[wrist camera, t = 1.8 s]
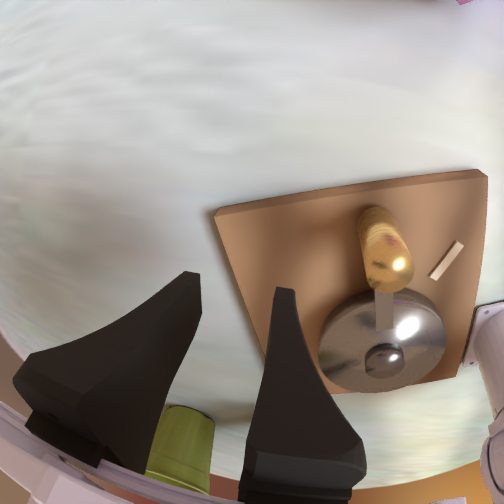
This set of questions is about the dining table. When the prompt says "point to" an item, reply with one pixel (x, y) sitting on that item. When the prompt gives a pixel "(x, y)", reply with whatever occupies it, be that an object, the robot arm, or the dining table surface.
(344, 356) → the crank handle wheel
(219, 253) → the dining table surface
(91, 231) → the dining table surface
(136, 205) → the dining table surface
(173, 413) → the plant pot
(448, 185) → the cutting board
